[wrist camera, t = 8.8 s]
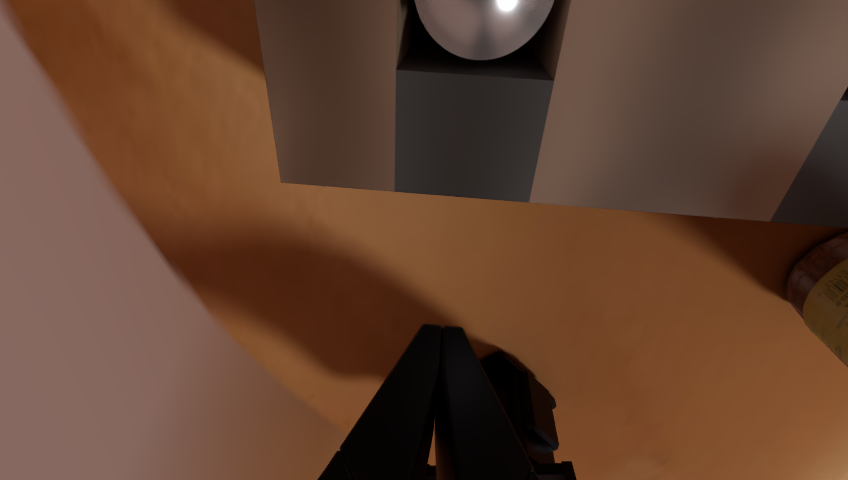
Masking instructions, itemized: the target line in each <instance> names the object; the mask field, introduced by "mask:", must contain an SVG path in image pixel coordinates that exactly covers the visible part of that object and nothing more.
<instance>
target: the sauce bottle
mask: <svg viewBox="0 0 848 480" xmlns="http://www.w3.org/2000/svg"><path fill="white" fill-rule="evenodd" d="M786 296H787V299H788V301H789V302H790V303H791V305H792V306H793V307H794V308H795V309H796V311H797V312H798V313H799V314H800V316H801V317H802V318H803V319H804V322H805V324H806V325H807V327H808V328H809V329H810V330H811V331H812V332H813V333H814V334H815V335H816V336H817V337H818V338H819V339H820V340H821V341H822V342H823V343H824V344H825V345H826V346H827V347H828V348H829V349H830V350H831V351H832V352H833V353H834V354H835V355H836V356H837V357H838V358H839V359H840V360H841V361H842V362H843V363H844V364H845V365H846V366H847V367H848V232H846V233H843V234H838V235H837V236H835V237H833V238H831V239H829V240H828V241H826V242H824V243H821V244H819V245H817V246H816V247H814V248H813V249H812V250H811V251H809V252H808V253H807V254H806V255H805V256H804V257H803V258H802V259H801V260H800V261H799V262H797V263H796V264H795V266H794V268H793V270H792V272H791V274H790V275H789V276H788V283H787V286H786Z"/></svg>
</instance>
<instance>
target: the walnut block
mask: <svg viewBox="0 0 848 480" xmlns="http://www.w3.org/2000/svg"><path fill="white" fill-rule="evenodd" d="M254 6H255V12H256V19H257V26H258V32H259V39H260V46H261V52H262V59H263V66H264V72H265V79H266V86H267V92H268V99H269V105H270V112H271V119H272V125H273V132H274V139H275V145H276V152H277V159H278V165H279V172H280V179H281V183H293V184H306V185H318V186H331V187H343V188H356V189H368V190H381V191H393V192H406V193H418V194H430V195H443V196H455V197H468V198H480V199H493V200H505V201H518V202H530V203H543V204H555V205H568V206H580V207H593V208H605V209H617V210H630V211H642V212H655V213H667V214H680V215H692V216H705V217H717V218H730V219H742V220H755V221H767V222H780V223H792V224H804V225H817V226H829V227H842V228H848V0H554V2H553V5H552V8H551V10H550V12H549V14H548V16H547V18H546V19H545V21H544V23H543V24H542V26H541V27H540V28H539V30H538V31H537V32H536V33H535V35H534V36H533V37H532V38H531V39H530V40H528V41H527V42H526V43H525V44H524V45H522V46H521V47H520V48H518V49H517V50H515V51H513V52H511V53H509V54H507V55H505V56H502V57H499V58H495V59H489V60H472V59H466V58H463V57H459V56H457V55H455V54H453V53H451V52H449V51H447V50H446V49H444V48H443V47H442V46H441V45H439V44H438V43H437V42H436V41H435V40H434V39H433V38H432V37H431V35H422V34H419V14H418V11H417V8H416V4H415V0H254Z"/></svg>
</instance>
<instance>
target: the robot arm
mask: <svg viewBox="0 0 848 480" xmlns="http://www.w3.org/2000/svg"><path fill="white" fill-rule="evenodd" d="M499 359H501V360H499ZM555 407H556V402H555V399H554V398H553V397H552V396H551V395H550V394H549V391H548V390H547V389H546V388H545V387H544V386H543V385H542V384H540V383H539V382H538V381H537V380H536V379H535V378H534V377H533V376H532V375H531V374H530V373H529V372H527V371H525V370H523V369H522V368H521V367H520V366H519V365H518V364H516V363H515V362H514V361H513V360H512V359H511V358H510V357H509V356H508V355H507V354H505V353H504V352H496V353H494V354H492V355H490V356H488V357H486V358H484V359H482V360H480V361H479V359H478V357H477V355H476V353H475V351H474V349H473V347H472V346H471V344H470V342H469V340H468V338H467V336H466V334H465V332H464V330H463V328H461V327H458V326H447V325H446V326H444V327H443V328H442V326H441V325H436V324H423V325H422V326H421V327H420V329H419V330H418V332H417V333H416V335H415V336H414V338H413V339H412V341H411V342H410V344H409V345H408V347H407V348H406V350H405V351H404V353H403V354H402V355H401V357H400V358H399V360H398V361H397V363H396V364H395V366H394V367H393V369H392V370H391V372H390V373H389V375H388V376H387V378H386V379H385V381H384V382H383V384H382V385H381V387H380V388H379V390H378V391H377V393H376V394H375V396H374V397H373V399H372V400H371V402H370V403H369V405H368V406H367V408H366V409H365V411H364V412H363V414H362V415H361V417H360V418H359V420H358V421H357V422H356V424H355V425H354V427H353V428H352V430H351V431H350V433H349V434H348V436H347V437H346V439H345V440H344V442H343V443H342V445H341V446H340V451H337V452H336V453H335V455H334V457H333V458H332V459H331V461H330V462H329V464H328V465H327V467H326V468H325V470H324V471H323V473H322V474H321V475H320V477H319V478H318V480H576V476H575V473H574V469H573V465H572V462H571V461H562V462H561V463H555V460H554V454H553V451H555V450H557V449H558V446H559V442H558V437H557V432H556V427H555V422H554V416H553V411H552V409H554V408H555ZM434 421H435V457H436V466H430V465H429V464H427V463H428V458H429V453H430V448H431V443H432V437H433V431H434Z"/></svg>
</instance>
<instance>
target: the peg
mask: <svg viewBox="0 0 848 480" xmlns="http://www.w3.org/2000/svg"><path fill="white" fill-rule="evenodd" d="M553 2H554V0H415V4H416V8H417V11H418V14H419V16H420V19H421V21H422V23H423V25H424V27H425V28H426V30H427V31H428V33H429V34H430V35H431V37H432V38H433V39H434V40H435V41H436V42H437V43H438V44H439V45H441V46H442V47H443V48H444V49H446V50H447V51H449V52H451V53H453V54H455V55H457V56H459V57H463V58H466V59H472V60H489V59H495V58H499V57H502V56H505V55H507V54H509V53H511V52H513V51H515V50H517V49H518V48H520V47H521V46H522V45H524V44H525V43H526V42H527V41H528V40H530V39H531V38H532V37H533V36H534V35H535V33H536V32H537V31H538V30H539V28H540V27H541V26H542V24H543V23H544V21H545V19H546V18H547V16H548V14H549V12H550V10H551V8H552V5H553Z"/></svg>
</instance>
